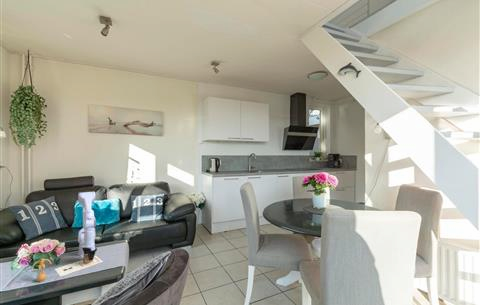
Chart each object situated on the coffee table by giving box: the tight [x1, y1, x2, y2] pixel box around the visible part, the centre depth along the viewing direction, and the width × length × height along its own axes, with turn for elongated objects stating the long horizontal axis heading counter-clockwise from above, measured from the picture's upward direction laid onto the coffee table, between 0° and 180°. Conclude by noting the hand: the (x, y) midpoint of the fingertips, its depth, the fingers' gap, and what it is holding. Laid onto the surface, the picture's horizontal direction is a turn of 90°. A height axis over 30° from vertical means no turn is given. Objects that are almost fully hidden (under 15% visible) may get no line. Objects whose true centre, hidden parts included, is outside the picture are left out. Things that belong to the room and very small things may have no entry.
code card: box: [54, 255, 104, 277], centre depth 134 cm, size 13×22×1 cm, turn 142°
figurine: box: [31, 257, 52, 282], centre depth 119 cm, size 8×6×12 cm
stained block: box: [82, 254, 94, 265], centre depth 138 cm, size 4×4×5 cm
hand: (89, 258), depth 138 cm, fingers open, 7 cm apart
